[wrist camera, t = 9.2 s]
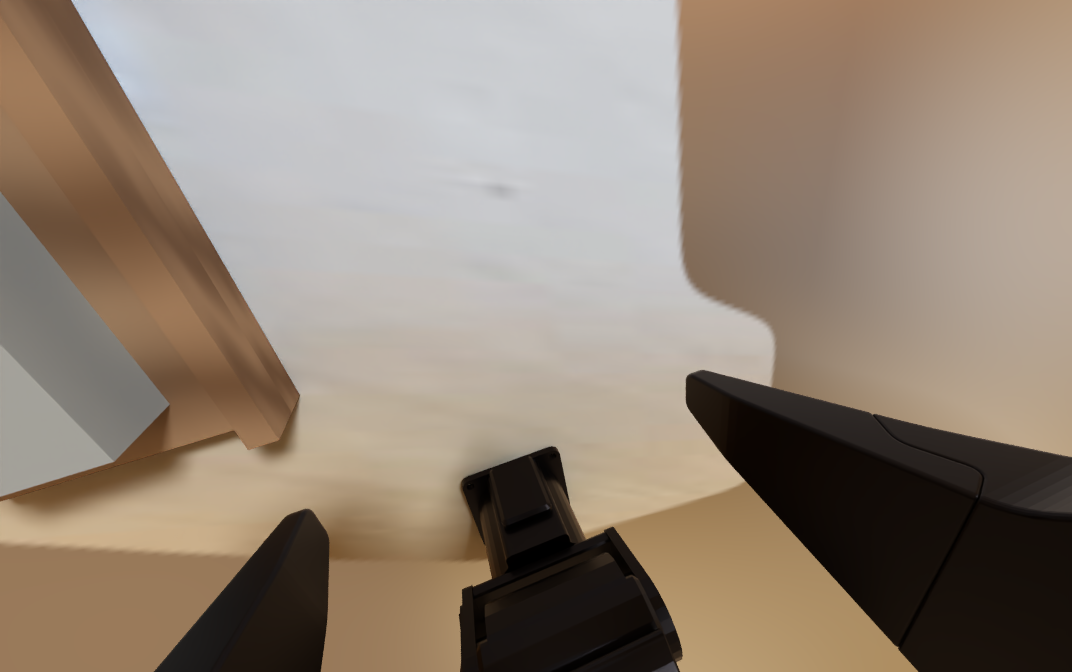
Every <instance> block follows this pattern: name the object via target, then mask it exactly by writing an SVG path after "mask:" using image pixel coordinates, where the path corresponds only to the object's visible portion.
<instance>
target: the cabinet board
mask: <svg viewBox="0 0 1072 672" xmlns="http://www.w3.org/2000/svg"><path fill="white" fill-rule="evenodd" d="M0 192H1V193H2V195H3V196H4V197H5V198H6V200H7V201H8V202H9V203H10V205H11V206H12V207H13V208H14V210H15V211H16V212H17V213H18V215H19V216H20V217H21V218H22V220H23V221H24V222H25V223H26V225H27V226H28V227H29V228H30V230H31V231H32V232H33V233H34V235H35V236H36V237H37V238H38V240H39V241H40V242H41V243H42V245H43V246H44V247H45V248H46V250H47V251H48V252H49V253H50V255H51V256H52V257H53V258H54V260H55V261H56V262H57V263H58V265H59V266H60V267H61V268H62V270H63V271H64V272H65V273H66V275H67V276H68V277H69V278H70V280H71V281H72V282H73V283H74V285H75V286H76V287H77V288H78V290H79V291H80V292H81V294H82V295H83V296H84V297H85V299H86V300H87V301H88V302H89V304H90V305H91V306H92V307H93V309H94V310H95V311H96V312H97V314H98V315H99V316H100V317H101V319H102V320H103V321H104V322H105V324H106V325H107V326H108V327H109V329H110V330H111V331H112V332H113V334H114V335H115V336H116V337H117V339H118V340H119V341H120V342H121V344H122V345H123V346H124V347H125V349H126V350H127V351H128V352H129V354H130V355H131V356H132V357H133V359H134V360H135V361H136V362H137V364H138V365H139V366H140V367H141V369H142V370H143V371H144V372H145V374H146V375H147V376H148V377H149V379H150V380H151V381H152V382H153V384H154V385H155V386H156V387H157V389H158V390H159V391H160V393H161V394H162V395H163V396H164V398H165V399H166V400H167V401H168V403H169V404H170V405H169V406H168V407H167V408H166V409H165V410H164V411H163V412H162V413H161V414H160V415H159V416H158V417H157V418H156V419H155V420H154V421H153V422H152V423H151V424H150V425H149V426H148V427H147V428H146V429H145V430H144V431H143V432H142V434H141V435H140V436H139V437H138V438H137V439H136V440H135V441H134V442H133V443H132V444H131V445H130V446H129V447H128V448H127V449H126V450H125V451H124V452H123V453H122V454H121V455H120V456H119V457H118V458H117V459H116V460H115V461H114V462H112V463H108V464H105V465H102V466H99V467H95V468H92V469H89V470H86V471H82V472H79V473H76V474H73V475H69V476H66V477H63V478H60V479H56V480H53V481H50V482H46V483H43V484H40V485H37V486H33V487H30V488H27V489H24V490H20V491H17V492H14V493H11V494H7V495H4V496H1V497H0V501H3V500H7V499H10V498H13V497H17V496H20V495H23V494H26V493H30V492H33V491H36V490H39V489H43V488H46V487H49V486H53V485H56V484H59V483H62V482H66V481H69V480H72V479H76V478H79V477H82V476H85V475H89V474H92V473H95V472H99V471H102V470H105V469H108V468H112V467H115V466H118V465H121V464H125V463H128V462H131V461H135V460H138V459H141V458H144V457H148V456H151V455H154V454H158V453H161V452H164V451H167V450H171V449H174V448H177V447H181V446H184V445H187V444H190V443H194V442H197V441H200V440H204V439H207V438H210V437H213V436H217V435H220V434H223V433H226V432H230V431H233V430H234V431H235V432H236V434H237V435H238V436H239V438H240V439H241V441H242V442H243V443H244V445H245V446H246V448H247V449H248V450H250V449H253V448H256V447H259V446H262V445H266V444H269V443H272V442H275V441H278V440H279V439H280V437H281V435H282V433H283V431H284V428H285V426H286V424H287V422H288V420H289V418H290V415H291V413H292V411H293V409H294V407H295V404H296V402H297V400H298V398H299V396H300V395H299V393H298V391H297V389H296V388H295V386H294V384H293V383H292V381H291V379H290V377H289V376H288V374H287V372H286V371H285V369H284V367H283V365H282V364H281V362H280V360H279V358H278V357H277V355H276V353H275V352H274V350H273V348H272V346H271V345H270V343H269V341H268V339H267V338H266V336H265V334H264V333H263V331H262V329H261V327H260V326H259V324H258V322H257V320H256V319H255V317H254V315H253V314H252V312H251V310H250V308H249V307H248V305H247V303H246V301H245V300H244V298H243V296H242V295H241V293H240V291H239V289H238V288H237V286H236V284H235V283H234V281H233V279H232V277H231V276H230V274H229V272H228V270H227V269H226V267H225V265H224V264H223V262H222V260H221V258H220V257H219V255H218V253H217V251H216V250H215V248H214V246H213V245H212V243H211V241H210V239H209V238H208V236H207V234H206V232H205V231H204V229H203V227H202V226H201V224H200V222H199V220H198V219H197V217H196V215H195V214H194V212H193V210H192V208H191V207H190V205H189V203H188V201H187V200H186V198H185V196H184V195H183V193H182V191H181V189H180V188H179V186H178V184H177V182H176V181H175V179H174V177H173V176H172V174H171V172H170V170H169V169H168V167H167V165H166V163H165V162H164V160H163V158H162V157H161V155H160V153H159V151H158V150H157V148H156V146H155V144H154V143H153V141H152V139H151V138H150V136H149V134H148V132H147V131H146V129H145V127H144V126H143V124H142V122H141V120H140V119H139V117H138V115H137V113H136V112H135V110H134V108H133V107H132V105H131V103H130V101H129V100H128V98H127V96H126V94H125V93H124V91H123V89H122V88H121V86H120V84H119V82H118V81H117V79H116V77H115V75H114V74H113V72H112V70H111V69H110V67H109V65H108V63H107V62H106V60H105V58H104V57H103V55H102V53H101V51H100V50H99V48H98V46H97V44H96V43H95V41H94V39H93V38H92V36H91V34H90V32H89V31H88V29H87V27H86V25H85V24H84V22H83V20H82V19H81V17H80V15H79V13H78V12H77V10H76V8H75V6H74V5H73V3H72V1H71V0H0Z"/></svg>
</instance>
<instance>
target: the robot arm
mask: <svg viewBox="0 0 1072 672" xmlns="http://www.w3.org/2000/svg"><path fill="white" fill-rule="evenodd" d="M686 404H687V407H688V409H689V410H690V412H691V413H692V414H693V416H694V417H695V419H696V420H697V421H698V423H699V424H700V425H701V427H702V428H703V429H704V431H705V432H706V433H707V435H708V436H709V437H710V439H711V440H712V442H713V443H714V444H715V446H716V447H717V448H718V450H719V451H720V452H721V453H722V455H723V456H724V457H725V459H726V460H727V461H728V462H729V463H730V464H731V465H732V467H733V468H734V469H735V470H736V471H737V472H738V473H739V474H740V475H741V476H742V478H743V479H744V480H745V481H746V482H747V483H748V484H749V485H750V486H751V487H752V488H753V489H754V491H755V492H756V493H757V494H758V495H759V496H760V497H761V498H762V500H763V501H764V502H765V503H766V504H767V505H768V506H769V507H770V508H771V509H772V511H773V512H774V513H775V514H776V515H777V516H778V517H779V518H780V519H781V520H782V522H783V523H784V524H785V525H786V526H787V527H788V528H789V529H790V530H791V531H792V533H793V534H794V535H795V536H796V537H797V538H798V539H799V540H800V541H801V542H802V543H803V545H804V546H805V547H806V548H807V549H808V550H809V551H810V552H811V553H812V555H813V556H814V557H815V558H816V559H817V560H818V561H819V562H820V563H821V564H822V565H823V567H825V569H826V570H827V571H828V572H829V573H830V574H831V575H832V577H833V578H834V579H835V580H836V581H837V582H838V583H839V584H840V585H841V586H842V587H843V589H844V590H845V591H846V592H847V593H848V594H849V595H850V596H851V597H852V598H853V600H854V601H855V602H856V603H857V604H858V605H859V606H860V607H861V609H863V611H864V612H865V613H866V614H867V615H868V616H869V617H870V618H871V619H872V621H873V622H874V623H875V624H876V625H877V626H878V627H879V628H880V629H881V630H882V631H883V633H884V634H885V635H886V636H887V637H888V638H889V639H890V640H891V641H892V643H893V644H894V645H895V646H897V647H898V649H899V651H900V652H901V653H902V654H903V655H904V656H905V657H906V658H907V660H908V661H909V662H910V663H911V664H912V665H913V666H914V667H915V668H916V669H917V670H918V672H1072V457H1068V456H1062V455H1057V454H1053V453H1048V452H1043V451H1038V450H1034V449H1029V448H1024V447H1019V446H1014V445H1009V444H1004V443H999V442H995V441H990V440H985V439H981V438H975V437H971V436H966V435H962V434H957V433H952V432H947V431H943V430H939V429H933V428H929V427H925V426H921V425H917V424H913V423H909V422H904V421H901V420H897V419H893V418H889V417H885V416H881V415H877V414H873V415H872V414H871V413H869V412H865V411H862V410H857V409H854V408H850V407H846V406H842V405H838V404H834V403H830V402H826V401H823V400H819V399H814V398H811V397H806V396H803V395H799V394H795V393H791V392H787V391H784V390H779V389H776V388H772V387H768V386H764V385H760V384H756V383H752V382H749V381H745V380H741V379H737V378H733V377H729V376H725V375H721V374H717V373H713V372H710V371H706V370H699V371H697V372H694V373H691V374H689V375H688V376H687V378H686ZM553 453H554V454H553ZM551 454H553V455H551ZM469 484H471V485H469ZM462 487H463V491H464V494H465V496H466V499H467V501H468V504H469V507H470V509H471V512H472V514H473V517H474V520H475V522H476V525H477V527H478V530H479V532H480V535H481V538H482V540H483V543H484V545H485V546H486V550H487V556H488V561H489V565H490V571H491V575H492V579H491V580H488V581H486V582H484V583H481V584H479V585H476V586H474V587H473V586H469V587H467V588H464V589H462V606H460V614H459V619H460V629H461V669H460V672H680V671H679V668H678V666H677V663H676V662H677V661H679V660H681V659H682V656H683V655H682V648H681V644H680V640H679V637H678V634H677V632H676V629H675V626H674V624H673V621H672V619H671V616H670V614H669V612H668V610H667V608H666V606H665V603H664V601H663V599H662V598H661V596H660V594H659V592H658V590H657V588H656V587H655V585H654V583H653V582H652V580H651V579H650V577H649V576H648V575H647V573H646V572H645V570H644V569H643V567H642V566H641V565H640V563H639V562H638V561H637V559H636V558H635V556H634V555H633V554H632V552H631V551H630V549H629V548H628V547H627V545H626V544H625V542H624V541H623V540H622V538H621V537H620V535H619V534H618V533H617V531H616V530H615V528H614V527H611V528H608V529H606V530H604V532H603V533H601V534H598V535H596V536H594V537H591V538H589V539H587V540H586V538H585V536H584V534H583V532H582V530H581V527H580V525H579V523H578V521H577V519H576V517H575V515H574V512H573V510H572V508H571V506H570V502H569V497H568V492H567V487H566V482H565V477H564V472H563V467H562V462H561V457H560V453H559V451H558V449H557V448H556V447H553V446H552V447H548V448H545V449H542V450H540V451H537V452H534V453H531V454H529V455H526V456H523V457H520V458H518V459H515V460H512V461H509V462H507V463H504V464H501V465H498V466H495V467H493V468H490V469H487V470H484V471H482V472H479V473H476V474H473V475H471V476H468V477H466V478H464V480H463V481H462ZM328 579H329V537H328V534H327V532H326V530H325V529H324V527H323V526H322V524H321V523H320V521H319V520H318V518H317V517H316V515H315V514H314V513H313V511H312V510H310V509H303V510H300V511H297V512H295V513H292V514H289V515H287V516H286V517H285V518H284V519H283V520H282V521H281V523H280V524H279V525H278V526H277V527H276V528H275V530H274V531H273V532H272V533H271V534H270V536H269V537H268V538H267V539H266V540H265V541H264V543H263V544H262V545H261V546H260V547H259V548H258V550H257V551H256V552H255V553H254V554H253V556H252V557H251V558H250V559H249V560H248V561H247V563H246V564H245V565H244V566H243V567H242V569H241V570H240V571H239V572H238V573H237V574H236V576H235V577H234V578H233V579H232V580H231V582H230V583H229V584H228V585H227V586H226V588H225V589H224V590H223V591H222V592H221V593H220V595H219V596H218V597H217V598H216V599H215V600H214V602H213V603H212V604H211V605H210V606H209V608H208V609H207V610H206V611H205V612H204V613H203V615H202V616H201V617H200V618H199V619H198V621H197V622H196V623H195V624H194V625H193V626H192V627H191V629H190V630H189V631H188V632H187V633H186V635H185V636H184V637H183V638H182V639H181V640H180V642H179V643H178V644H177V645H176V646H175V648H174V649H173V650H172V651H171V652H170V653H169V655H168V656H167V657H166V658H165V659H164V661H163V662H162V663H161V664H160V665H159V666H158V668H157V669H156V670H155V671H154V672H321V665H322V657H323V650H324V642H325V634H326V625H327V612H328Z"/></svg>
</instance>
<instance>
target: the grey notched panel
mask: <svg viewBox="0 0 1072 672" xmlns="http://www.w3.org/2000/svg"><path fill="white" fill-rule="evenodd" d="M169 405H170V404H169V403H168V401H167V400H166V399H165V398H164V396H163V395H162V394H161V393H160V391H159V390H158V389H157V387H156V386H155V385H154V384H153V382H152V381H151V380H150V379H149V377H148V376H147V375H146V374H145V372H144V371H143V370H142V369H141V367H140V366H139V365H138V364H137V362H136V361H135V360H134V359H133V357H132V356H131V355H130V354H129V352H128V351H127V350H126V349H125V347H124V346H123V345H122V344H121V342H120V341H119V340H118V339H117V337H116V336H115V335H114V334H113V332H112V331H111V330H110V329H109V327H108V326H107V325H106V324H105V322H104V321H103V320H102V319H101V317H100V316H99V315H98V314H97V312H96V311H95V310H94V309H93V307H92V306H91V305H90V304H89V302H88V301H87V300H86V299H85V297H84V296H83V295H82V294H81V292H80V291H79V290H78V288H77V287H76V286H75V285H74V283H73V282H72V281H71V280H70V278H69V277H68V276H67V275H66V273H65V272H64V271H63V270H62V268H61V267H60V266H59V265H58V263H57V262H56V261H55V260H54V258H53V257H52V256H51V255H50V253H49V252H48V251H47V250H46V248H45V247H44V246H43V245H42V243H41V242H40V241H39V240H38V238H37V237H36V236H35V235H34V233H33V232H32V231H31V230H30V228H29V227H28V226H27V225H26V223H25V222H24V221H23V220H22V218H21V217H20V216H19V215H18V213H17V212H16V211H15V210H14V208H13V207H12V206H11V205H10V203H9V202H8V201H7V200H6V198H5V197H4V196H3V195H2V193H1V192H0V497H1V496H4V495H7V494H11V493H14V492H17V491H20V490H24V489H27V488H30V487H33V486H37V485H40V484H43V483H46V482H50V481H53V480H56V479H60V478H63V477H66V476H69V475H73V474H76V473H79V472H82V471H86V470H89V469H92V468H95V467H99V466H102V465H105V464H108V463H112V462H114V461H115V460H116V459H117V458H118V457H119V456H120V455H121V454H122V453H123V452H124V451H125V450H126V449H127V448H128V447H129V446H130V445H131V444H132V443H133V442H134V441H135V440H136V439H137V438H138V437H139V436H140V435H141V434H142V432H143V431H144V430H145V429H146V428H147V427H148V426H149V425H150V424H151V423H152V422H153V421H154V420H155V419H156V418H157V417H158V416H159V415H160V414H161V413H162V412H163V411H164V410H165V409H166V408H167V407H168V406H169Z"/></svg>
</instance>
